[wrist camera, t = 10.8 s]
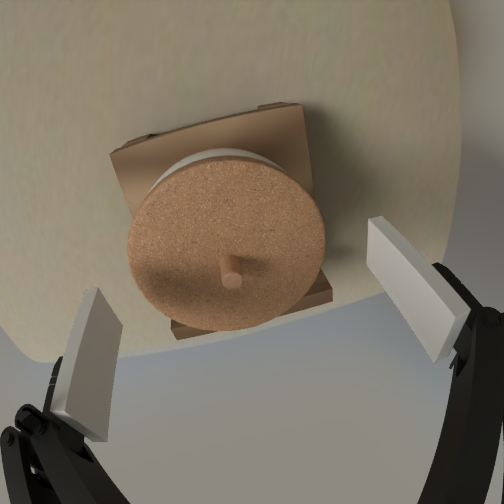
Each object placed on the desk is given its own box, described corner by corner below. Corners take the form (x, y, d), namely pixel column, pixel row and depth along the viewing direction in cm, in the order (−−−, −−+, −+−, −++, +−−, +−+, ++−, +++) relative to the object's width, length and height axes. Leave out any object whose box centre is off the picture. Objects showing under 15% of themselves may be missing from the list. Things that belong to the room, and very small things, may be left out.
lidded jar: (124, 222, 21) (90, 304, 13) (203, 103, 18) (204, 116, 10) (234, 282, 26) (250, 370, 18) (316, 188, 22) (376, 252, 15)
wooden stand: (122, 143, 22) (96, 165, 16) (286, 101, 22) (317, 108, 16) (179, 290, 30) (177, 340, 25) (308, 257, 31) (332, 301, 25)
